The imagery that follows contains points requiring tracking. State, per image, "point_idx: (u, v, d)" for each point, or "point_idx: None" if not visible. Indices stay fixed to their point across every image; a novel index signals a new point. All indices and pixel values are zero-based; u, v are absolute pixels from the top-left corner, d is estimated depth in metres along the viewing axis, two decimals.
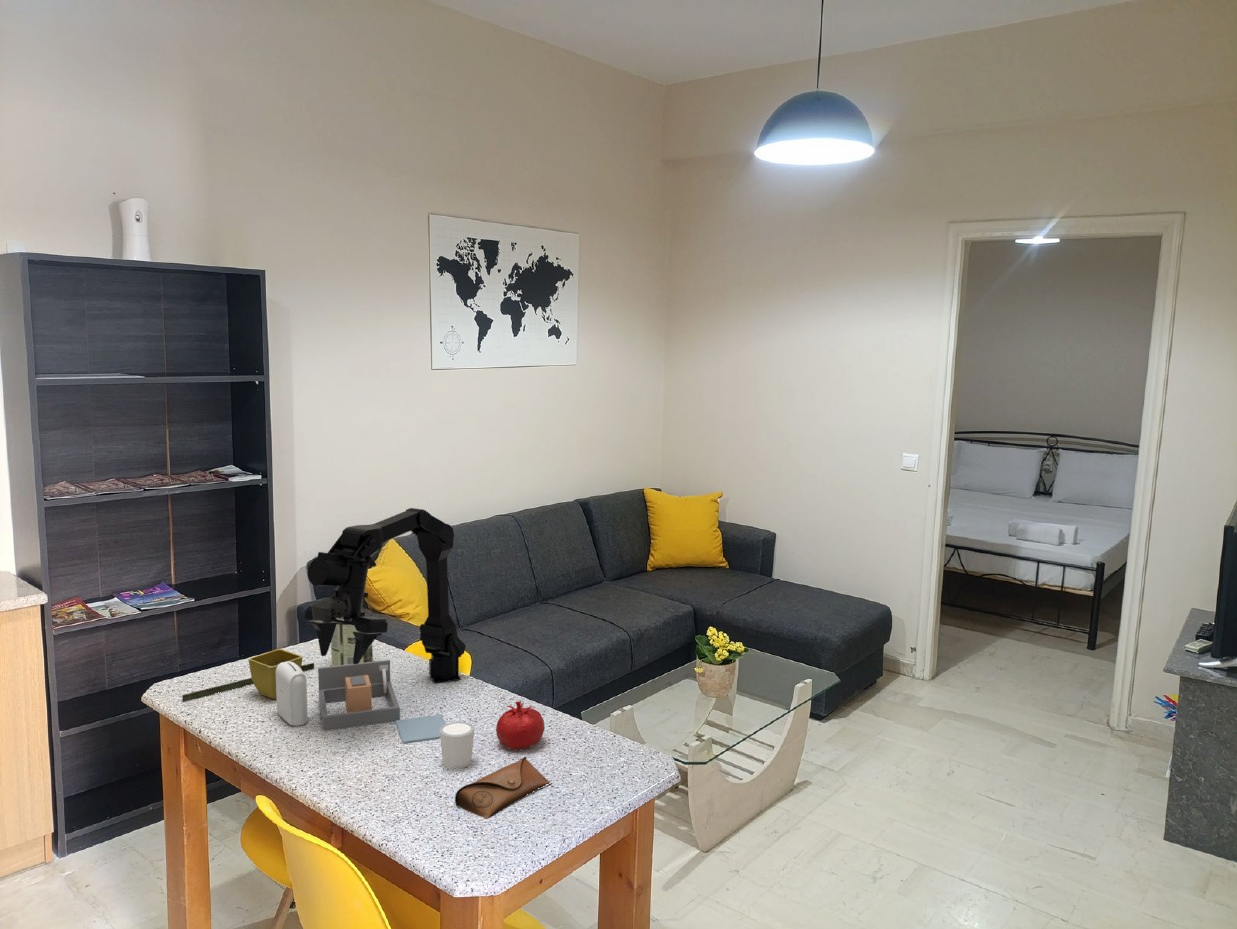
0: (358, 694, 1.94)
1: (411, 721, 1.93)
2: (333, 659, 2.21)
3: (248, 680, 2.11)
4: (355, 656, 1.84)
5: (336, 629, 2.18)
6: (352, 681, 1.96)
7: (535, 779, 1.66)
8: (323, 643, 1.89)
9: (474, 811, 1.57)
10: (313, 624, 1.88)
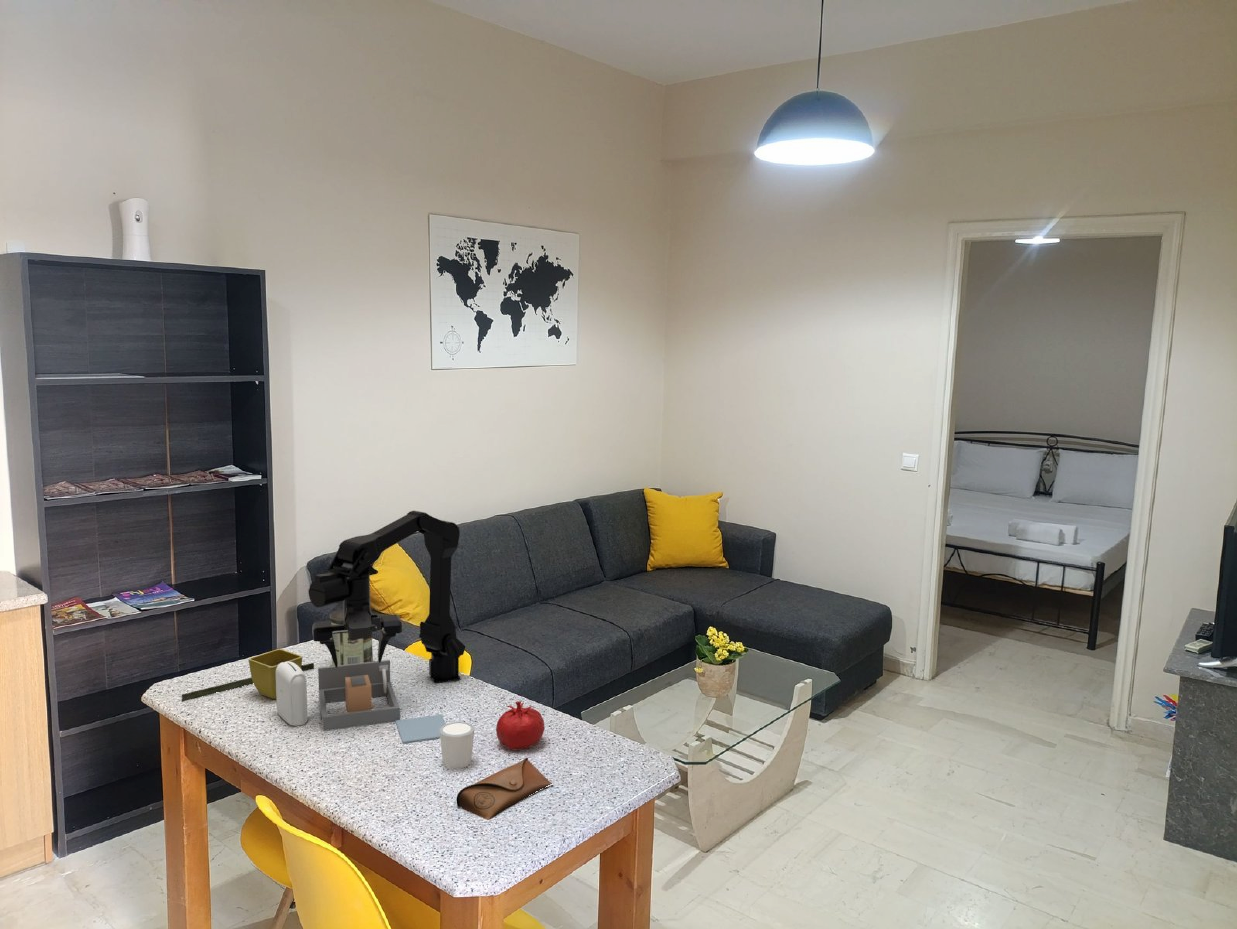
0: (358, 694, 1.94)
1: (411, 721, 1.93)
2: None
3: (247, 680, 2.11)
4: (381, 656, 1.98)
5: None
6: (352, 681, 1.96)
7: (536, 780, 1.66)
8: (336, 656, 1.94)
9: (475, 812, 1.56)
10: (328, 643, 1.91)
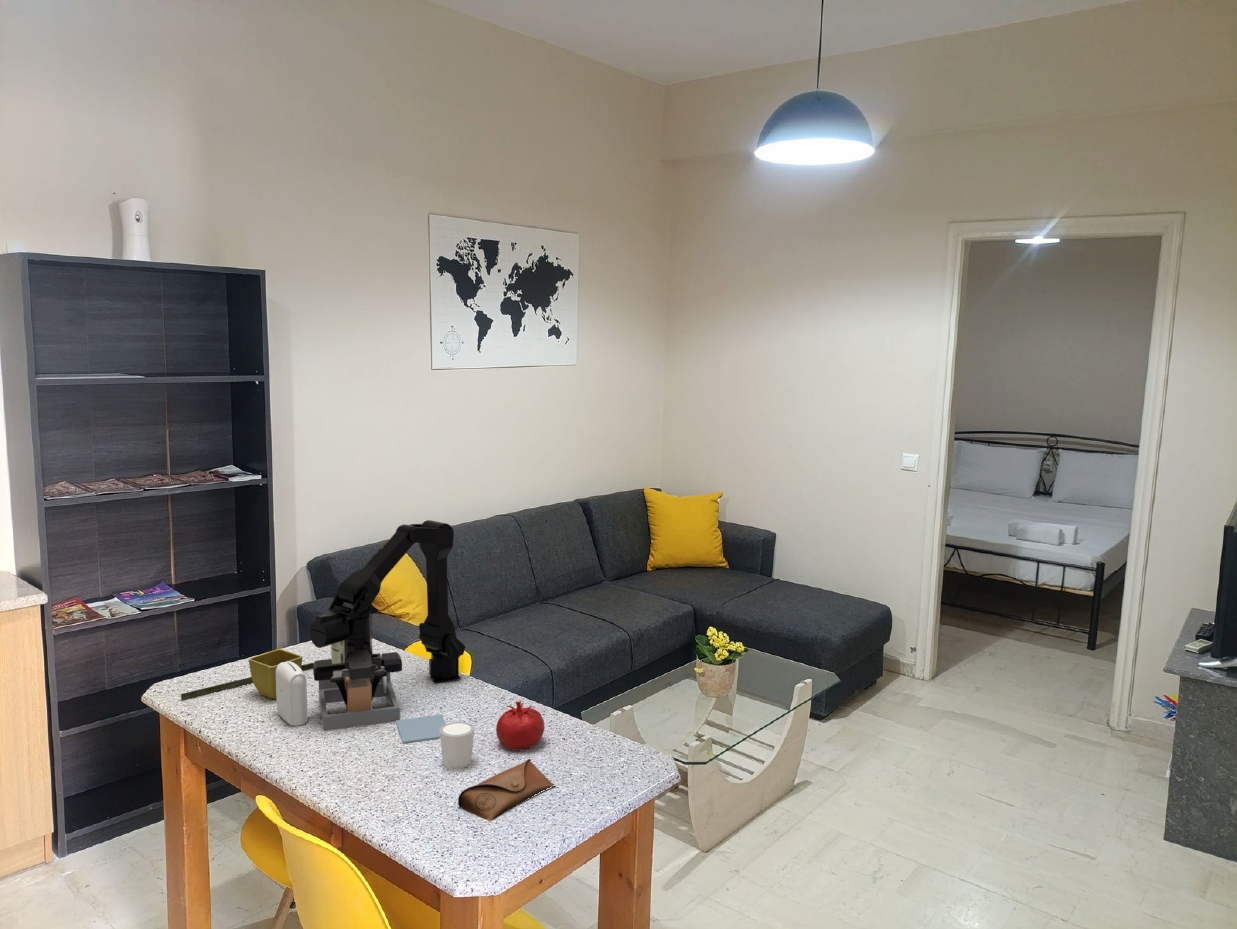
0: (359, 694, 1.94)
1: (411, 721, 1.93)
2: (333, 659, 2.21)
3: (247, 680, 2.12)
4: (373, 695, 1.98)
5: None
6: (352, 681, 1.96)
7: (539, 781, 1.65)
8: None
9: (477, 813, 1.56)
10: (338, 681, 1.93)
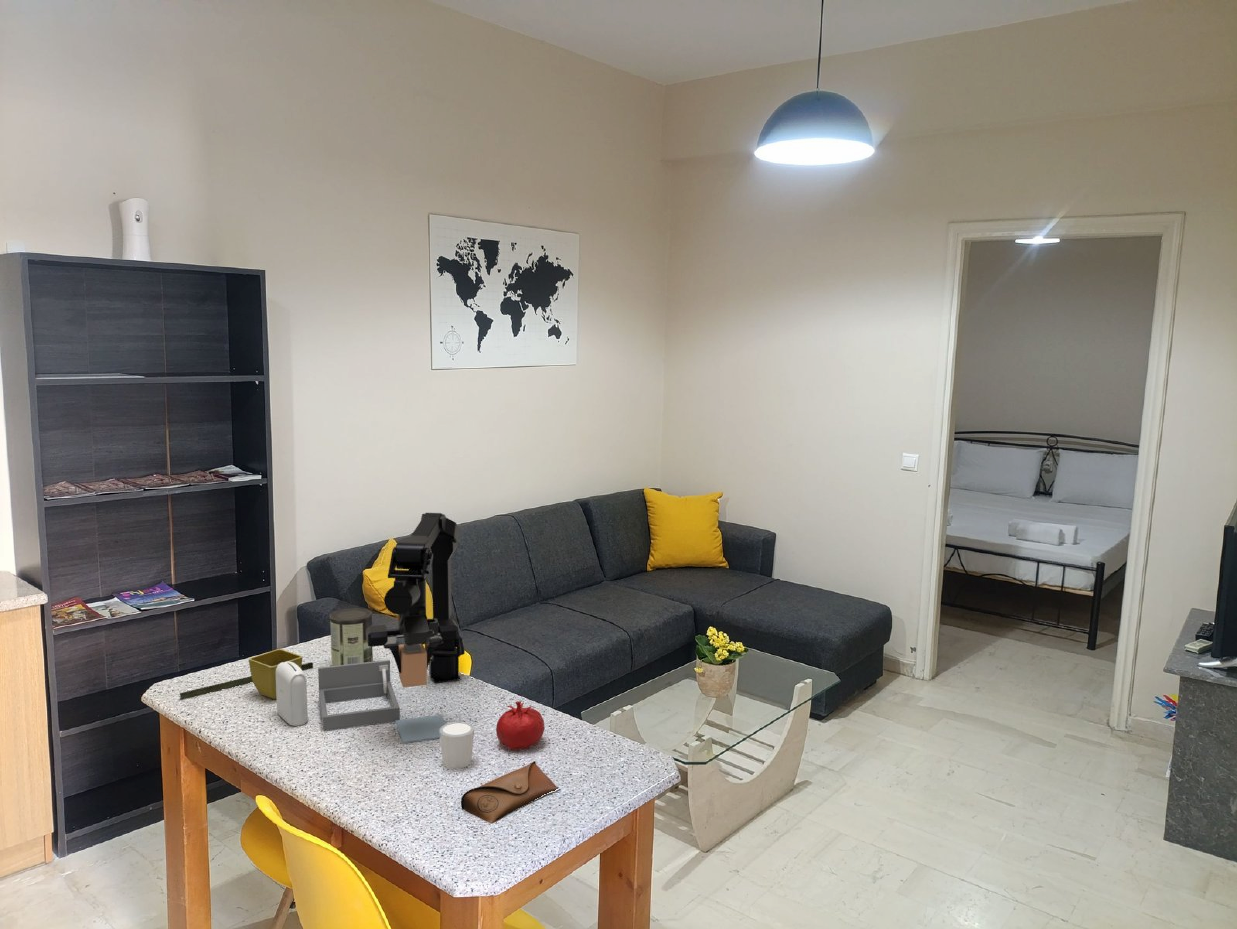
0: (414, 661, 1.85)
1: (411, 721, 1.93)
2: (333, 659, 2.21)
3: (246, 679, 2.12)
4: (427, 663, 1.89)
5: (336, 629, 2.18)
6: (406, 648, 1.87)
7: (542, 784, 1.64)
8: (400, 661, 1.87)
9: (479, 815, 1.55)
10: (393, 647, 1.84)
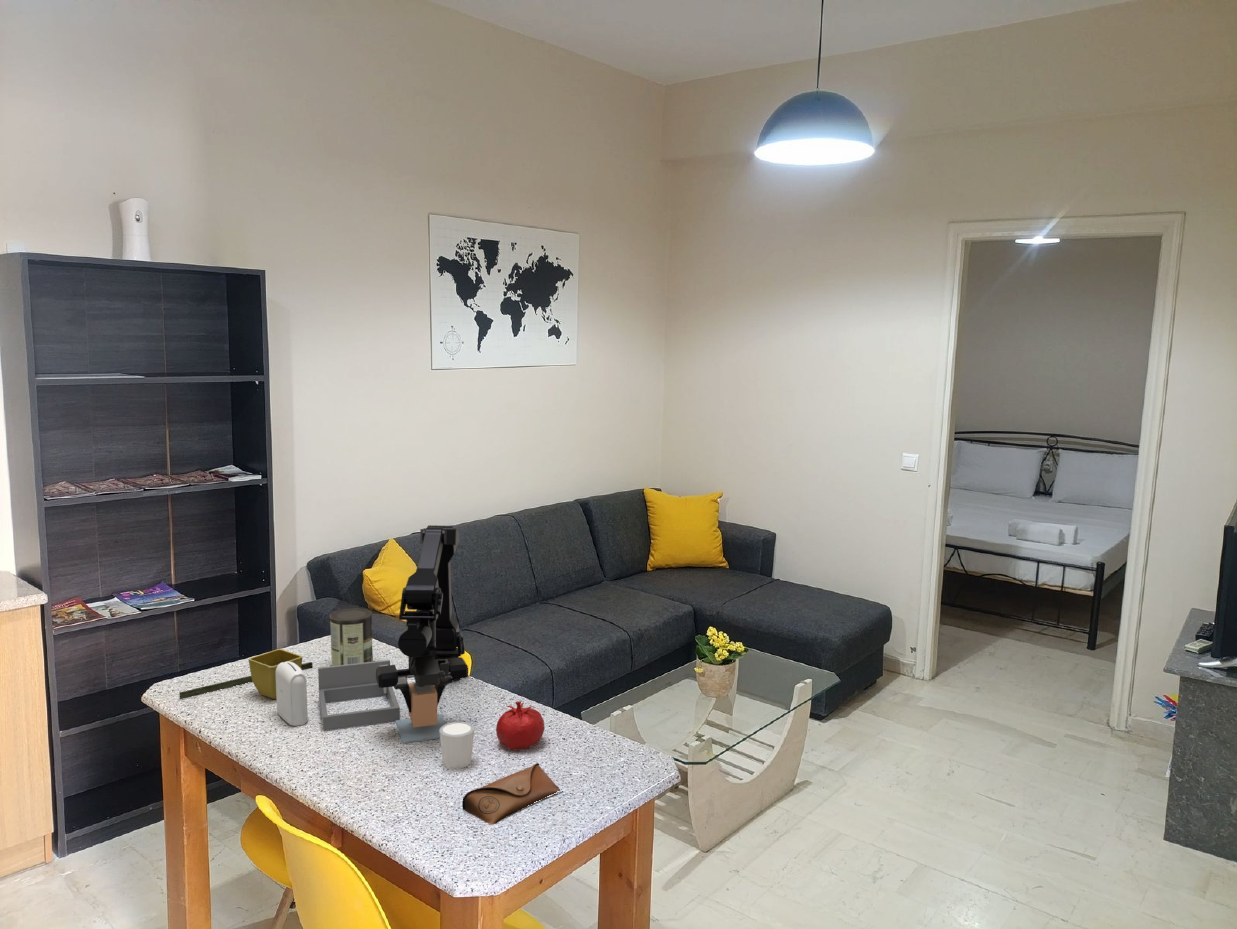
0: (424, 701, 1.86)
1: None
2: (333, 659, 2.21)
3: (245, 678, 2.12)
4: (437, 702, 1.89)
5: (336, 629, 2.18)
6: (416, 687, 1.88)
7: (545, 786, 1.63)
8: (410, 701, 1.87)
9: (480, 816, 1.55)
10: (403, 688, 1.84)
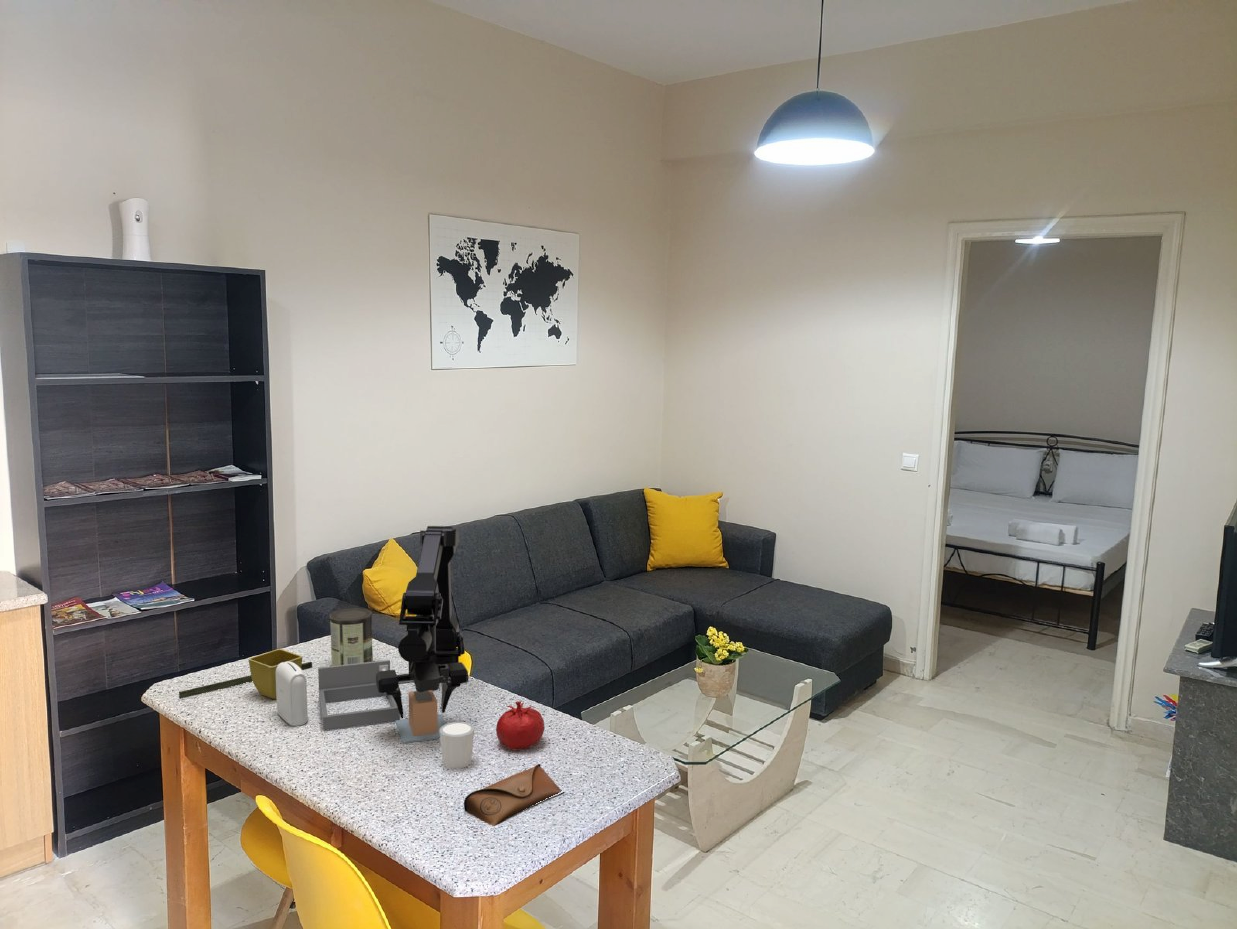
0: (424, 709, 1.86)
1: None
2: (333, 659, 2.21)
3: (245, 678, 2.13)
4: (445, 706, 1.90)
5: (336, 629, 2.18)
6: (417, 696, 1.88)
7: (546, 787, 1.63)
8: (402, 707, 1.87)
9: (481, 818, 1.55)
10: (395, 694, 1.84)
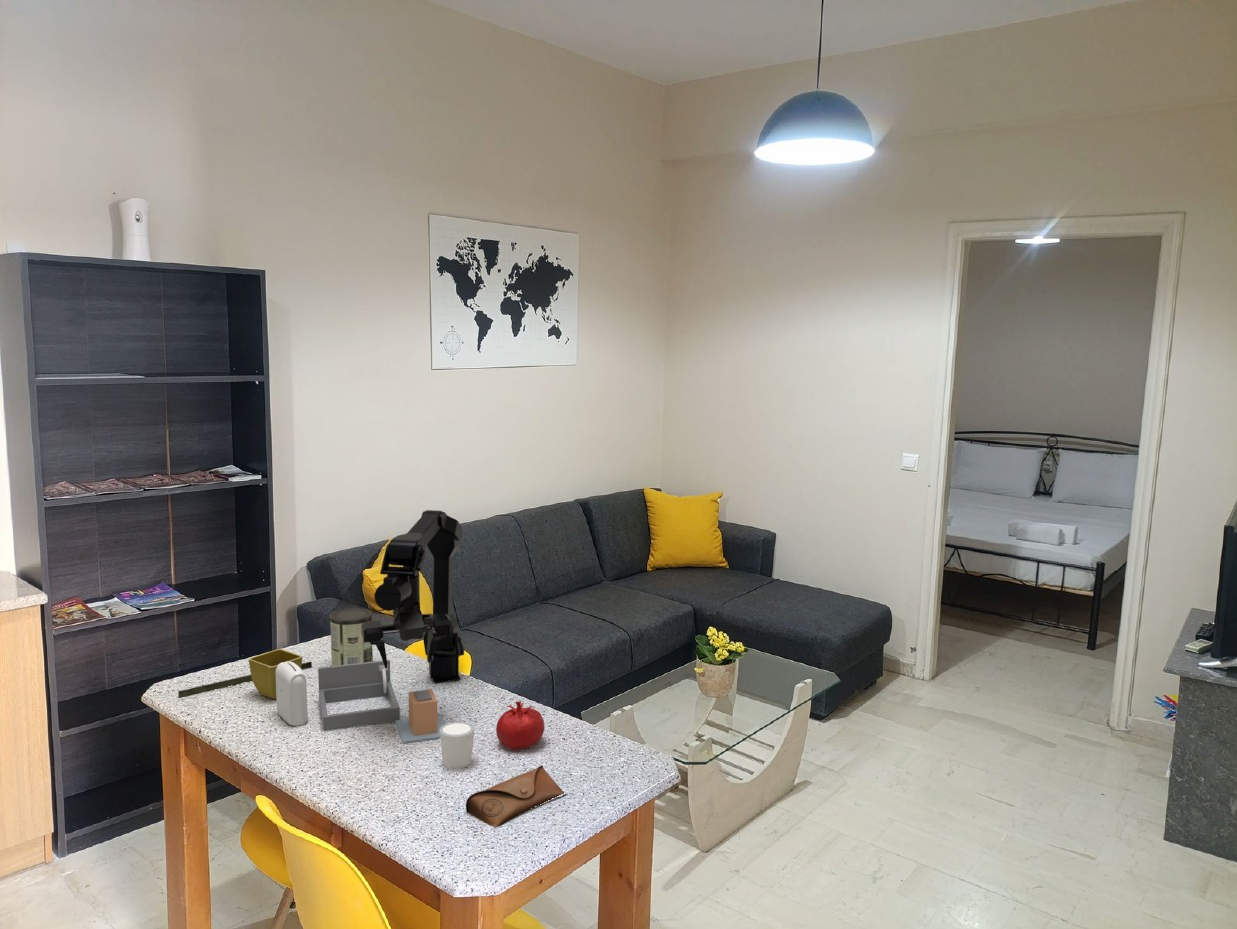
0: (424, 709, 1.86)
1: None
2: (333, 659, 2.21)
3: (244, 678, 2.13)
4: (431, 655, 1.94)
5: (336, 629, 2.18)
6: (417, 696, 1.88)
7: (549, 789, 1.62)
8: None
9: (483, 819, 1.54)
10: (379, 644, 1.87)
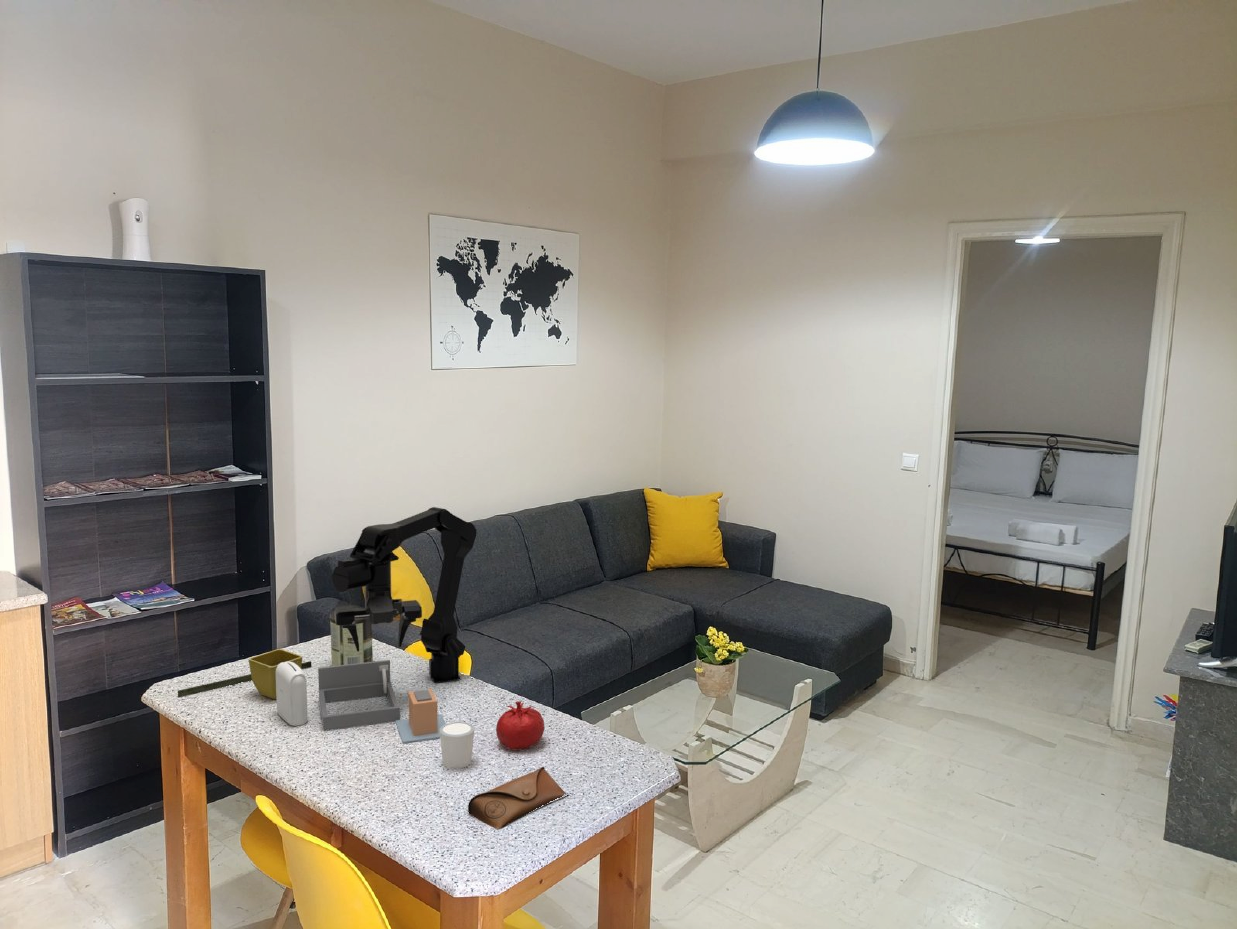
0: (424, 709, 1.86)
1: None
2: (333, 659, 2.21)
3: (244, 677, 2.13)
4: (401, 640, 2.02)
5: (336, 629, 2.18)
6: (417, 696, 1.88)
7: (551, 790, 1.62)
8: None
9: (486, 821, 1.54)
10: (350, 627, 1.95)
